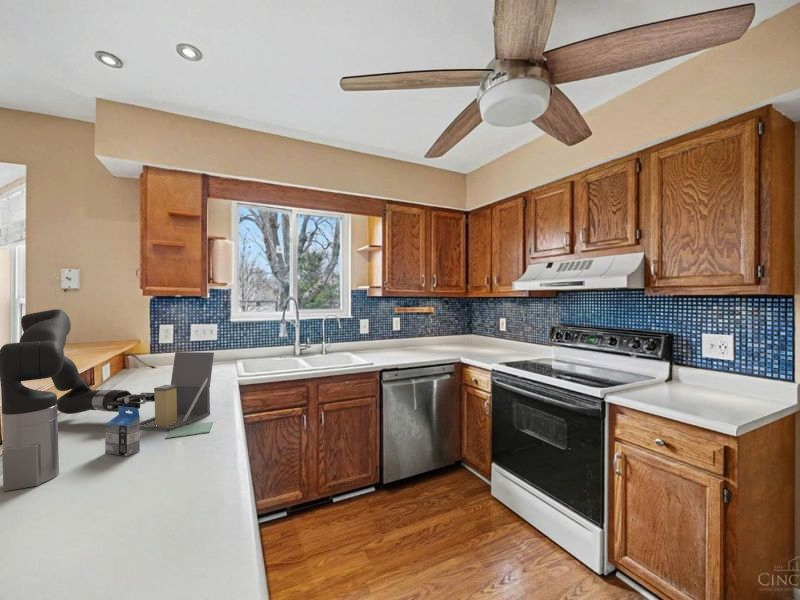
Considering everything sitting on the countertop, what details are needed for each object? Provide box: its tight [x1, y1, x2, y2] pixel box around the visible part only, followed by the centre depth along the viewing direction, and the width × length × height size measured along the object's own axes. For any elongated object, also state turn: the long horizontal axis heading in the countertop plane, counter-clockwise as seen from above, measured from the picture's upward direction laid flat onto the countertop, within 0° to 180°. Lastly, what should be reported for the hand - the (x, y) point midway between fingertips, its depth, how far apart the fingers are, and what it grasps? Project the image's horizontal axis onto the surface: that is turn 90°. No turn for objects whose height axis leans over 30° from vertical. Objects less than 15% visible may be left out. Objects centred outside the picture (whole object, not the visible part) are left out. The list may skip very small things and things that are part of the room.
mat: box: [165, 421, 214, 439], centre depth 116 cm, size 10×12×1 cm
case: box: [140, 351, 215, 431], centre depth 127 cm, size 20×16×23 cm
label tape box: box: [104, 406, 141, 457], centre depth 100 cm, size 9×4×12 cm, turn 72°
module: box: [153, 384, 178, 426], centre depth 123 cm, size 5×5×13 cm
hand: (150, 401), depth 124 cm, fingers open, 8 cm apart
